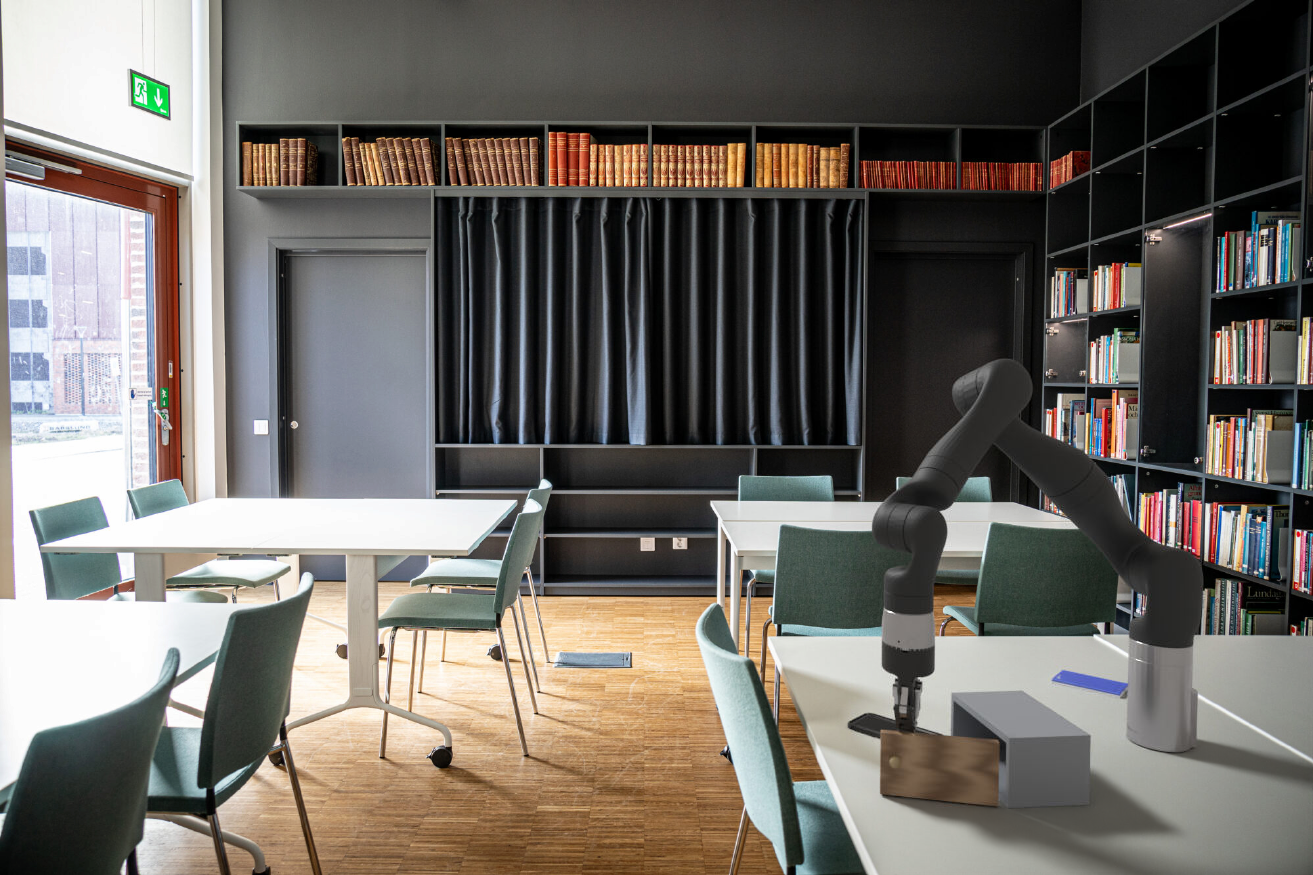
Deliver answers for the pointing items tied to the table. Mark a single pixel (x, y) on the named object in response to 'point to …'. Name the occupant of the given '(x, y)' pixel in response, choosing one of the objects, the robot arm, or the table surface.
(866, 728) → the phone
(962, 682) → the table surface
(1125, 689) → the hard drive
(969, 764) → the door
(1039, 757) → the storage box
